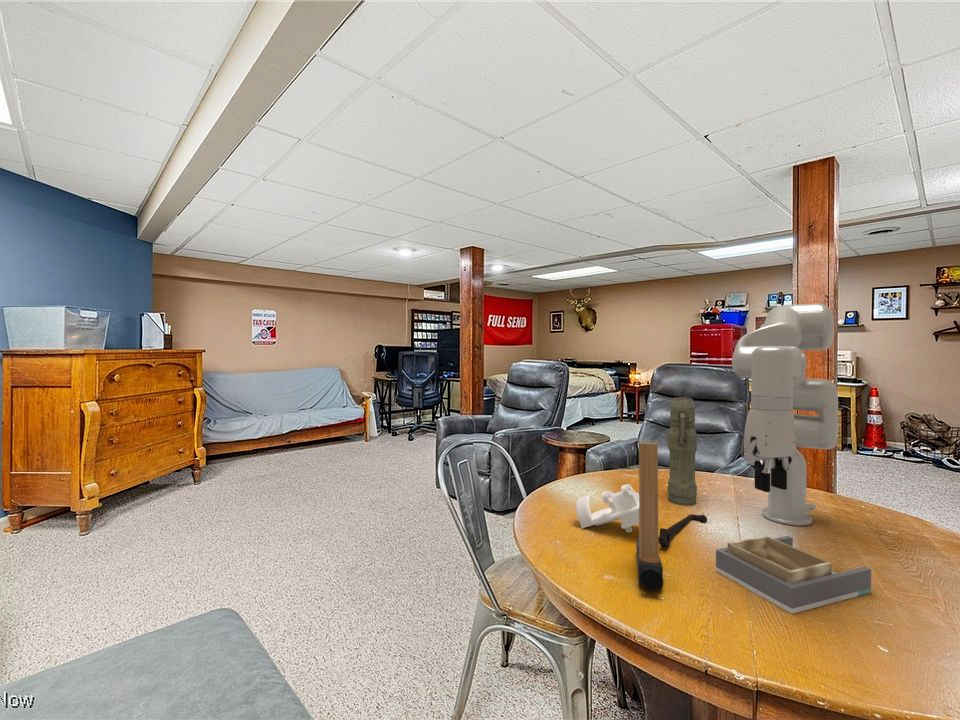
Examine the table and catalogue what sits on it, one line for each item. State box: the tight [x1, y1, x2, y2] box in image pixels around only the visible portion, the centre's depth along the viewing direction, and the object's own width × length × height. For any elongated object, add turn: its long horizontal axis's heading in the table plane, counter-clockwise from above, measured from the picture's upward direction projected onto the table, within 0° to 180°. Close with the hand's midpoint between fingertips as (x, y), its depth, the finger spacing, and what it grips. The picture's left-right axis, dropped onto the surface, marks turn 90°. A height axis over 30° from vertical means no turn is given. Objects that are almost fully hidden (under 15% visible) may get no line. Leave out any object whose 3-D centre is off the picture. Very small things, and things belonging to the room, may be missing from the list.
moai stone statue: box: [667, 396, 698, 506], centre depth 152 cm, size 9×12×35 cm
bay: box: [715, 535, 872, 615], centre depth 100 cm, size 23×18×5 cm
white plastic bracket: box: [575, 483, 639, 533], centre depth 129 cm, size 20×11×13 cm, turn 54°
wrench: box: [658, 513, 708, 550], centre depth 125 cm, size 5×5×30 cm
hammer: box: [635, 441, 664, 592], centre depth 105 cm, size 20×5×30 cm, turn 162°
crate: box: [726, 535, 833, 584], centre depth 98 cm, size 12×15×6 cm
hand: (770, 488), depth 97 cm, fingers open, 4 cm apart
